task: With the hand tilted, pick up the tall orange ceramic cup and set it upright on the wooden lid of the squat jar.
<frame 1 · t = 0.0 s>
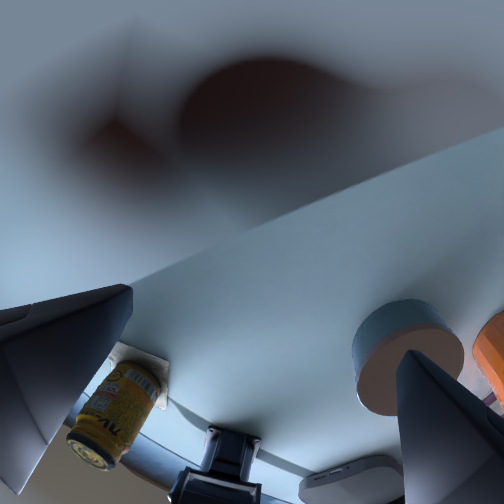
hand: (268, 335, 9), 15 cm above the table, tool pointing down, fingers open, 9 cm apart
media streaming box: (356, 481, 33), on the table, touching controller
cup: (498, 338, 23), on the table
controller: (407, 499, 31), point 3 cm above the table, touching media streaming box
jar: (398, 342, 25), on the table
condiment: (139, 374, 31), on the table
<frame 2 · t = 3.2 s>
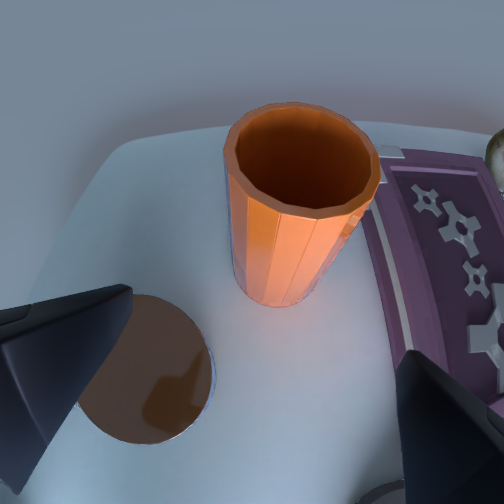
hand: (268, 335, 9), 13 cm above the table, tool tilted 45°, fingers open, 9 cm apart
book: (448, 293, 24), on the table
cup: (277, 264, 24), on the table
jar: (156, 373, 21), on the table
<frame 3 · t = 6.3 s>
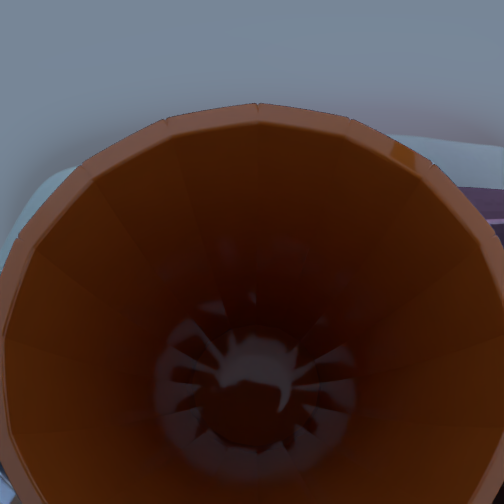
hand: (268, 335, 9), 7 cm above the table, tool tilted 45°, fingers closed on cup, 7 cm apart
book: (493, 393, 14), on the table
cup: (255, 386, 14), on the table, touching gripper
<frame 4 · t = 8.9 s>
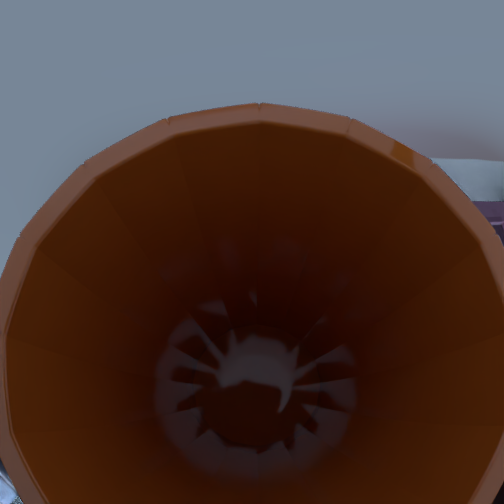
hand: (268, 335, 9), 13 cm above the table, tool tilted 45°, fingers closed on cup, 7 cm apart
book: (464, 353, 21), on the table
cup: (256, 385, 14), point 7 cm above the table, touching gripper
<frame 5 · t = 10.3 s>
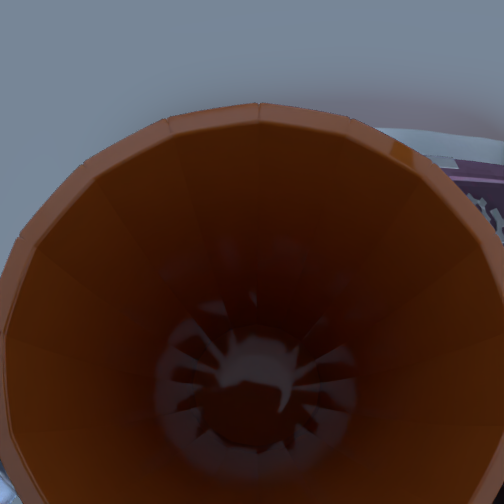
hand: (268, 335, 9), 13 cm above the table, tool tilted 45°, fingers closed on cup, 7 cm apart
book: (492, 291, 24), on the table
cup: (256, 386, 14), point 7 cm above the table, touching gripper
when the fingers open (12 cm above the table, at t = 11.5 s): cup stays where it is, resting on jar.
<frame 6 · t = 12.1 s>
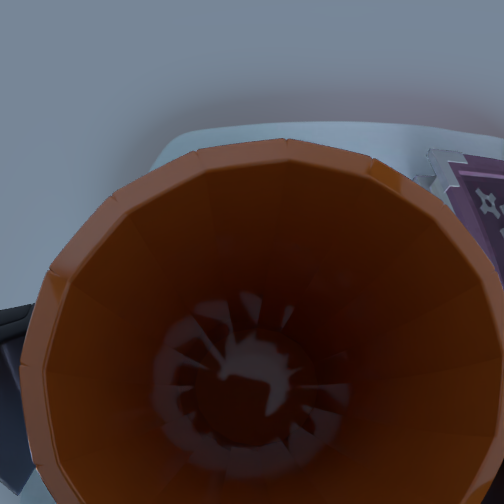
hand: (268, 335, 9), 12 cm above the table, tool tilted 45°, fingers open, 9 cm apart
book: (501, 289, 23), on the table
cup: (256, 387, 15), point 5 cm above the table, touching jar
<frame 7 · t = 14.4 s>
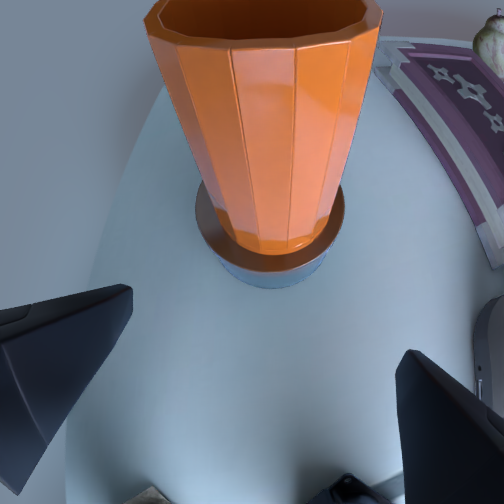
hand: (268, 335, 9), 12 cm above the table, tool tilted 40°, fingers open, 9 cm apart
fruit: (500, 82, 28), point 1 cm above the table
book: (478, 146, 25), on the table
cup: (273, 201, 19), point 5 cm above the table, touching jar
jar: (271, 231, 23), on the table
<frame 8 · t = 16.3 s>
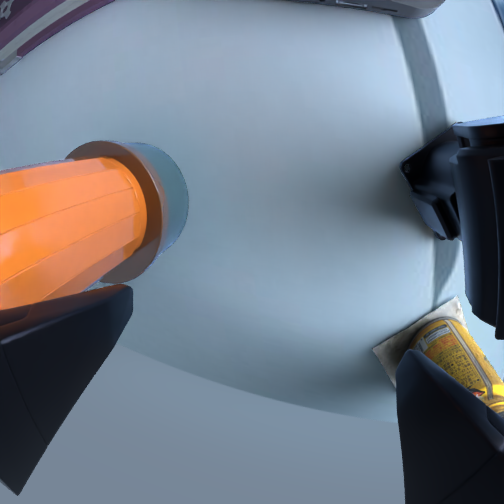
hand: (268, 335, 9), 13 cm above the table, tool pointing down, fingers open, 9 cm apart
cup: (99, 211, 17), point 5 cm above the table, touching jar
jar: (135, 200, 22), on the table
condiment: (426, 347, 23), on the table
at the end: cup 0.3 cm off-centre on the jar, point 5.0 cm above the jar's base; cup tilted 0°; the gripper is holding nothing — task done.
